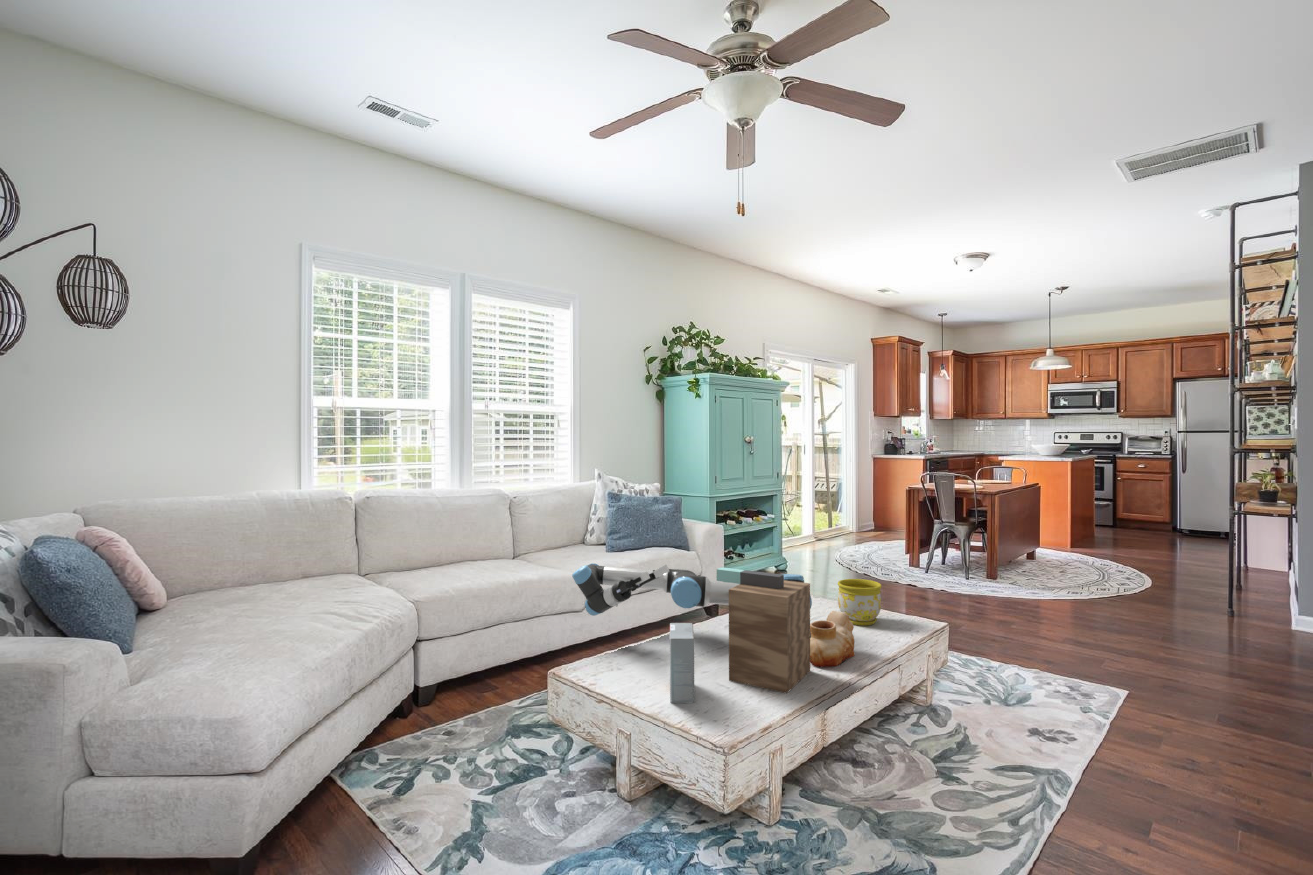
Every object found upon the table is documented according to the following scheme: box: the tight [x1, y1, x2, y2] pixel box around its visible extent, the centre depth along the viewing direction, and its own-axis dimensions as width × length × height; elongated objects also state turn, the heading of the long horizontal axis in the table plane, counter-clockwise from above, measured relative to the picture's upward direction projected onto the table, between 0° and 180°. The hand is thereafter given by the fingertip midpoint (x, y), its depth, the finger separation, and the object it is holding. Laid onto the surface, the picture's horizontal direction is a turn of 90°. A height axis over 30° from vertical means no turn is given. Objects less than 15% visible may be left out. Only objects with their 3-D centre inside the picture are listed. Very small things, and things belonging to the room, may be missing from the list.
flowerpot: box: [837, 578, 882, 627], centre depth 279 cm, size 18×18×16 cm
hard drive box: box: [669, 622, 695, 704], centre depth 204 cm, size 16×8×20 cm, turn 178°
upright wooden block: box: [728, 580, 811, 694], centre depth 218 cm, size 22×20×30 cm
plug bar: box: [716, 566, 784, 589], centre depth 222 cm, size 23×4×4 cm, turn 58°
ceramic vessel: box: [810, 610, 855, 668], centre depth 235 cm, size 14×26×15 cm, turn 141°
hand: (658, 571), depth 243 cm, fingers open, 13 cm apart
